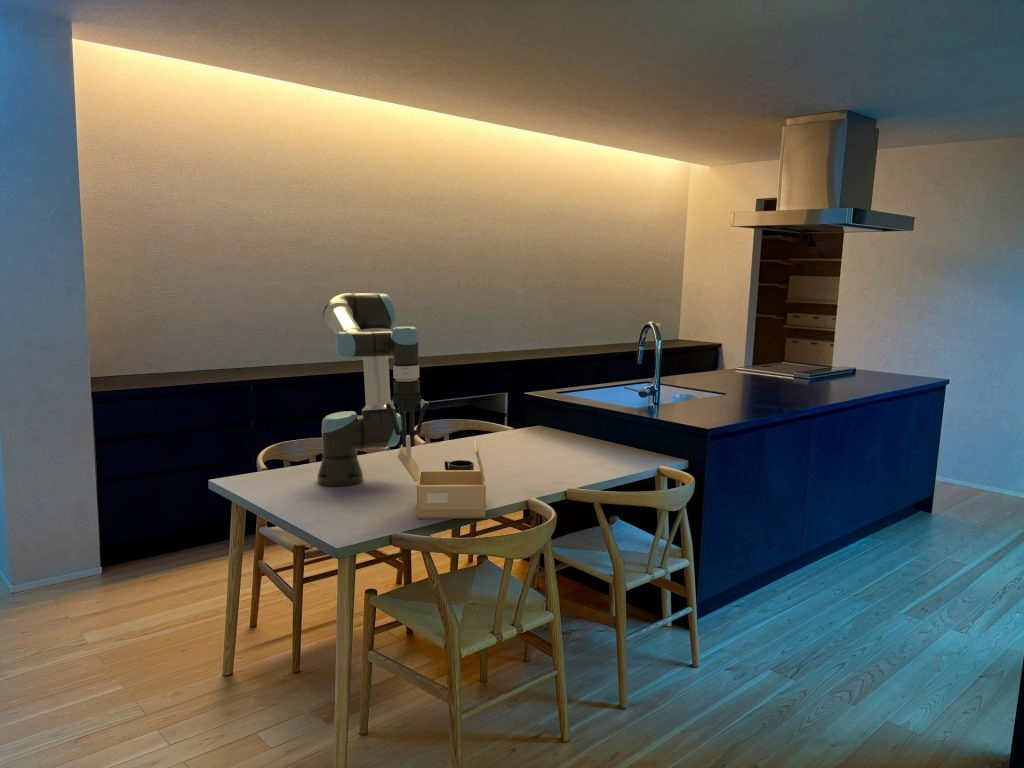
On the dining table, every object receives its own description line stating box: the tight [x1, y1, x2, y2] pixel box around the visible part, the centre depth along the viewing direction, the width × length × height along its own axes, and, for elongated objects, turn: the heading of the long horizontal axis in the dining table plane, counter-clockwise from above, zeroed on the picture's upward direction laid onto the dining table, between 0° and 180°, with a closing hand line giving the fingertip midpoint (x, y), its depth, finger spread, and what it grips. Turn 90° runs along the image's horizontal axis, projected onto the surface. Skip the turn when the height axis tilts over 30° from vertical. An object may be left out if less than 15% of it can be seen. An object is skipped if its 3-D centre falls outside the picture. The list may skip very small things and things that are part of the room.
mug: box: [443, 459, 475, 470], centre depth 243 cm, size 8×12×10 cm
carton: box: [416, 469, 487, 520], centre depth 222 cm, size 20×18×10 cm
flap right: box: [473, 439, 486, 481], centre depth 221 cm, size 1×15×9 cm, turn 4°
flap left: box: [397, 444, 420, 483], centre depth 219 cm, size 1×15×9 cm
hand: (408, 457), depth 219 cm, fingers closed
